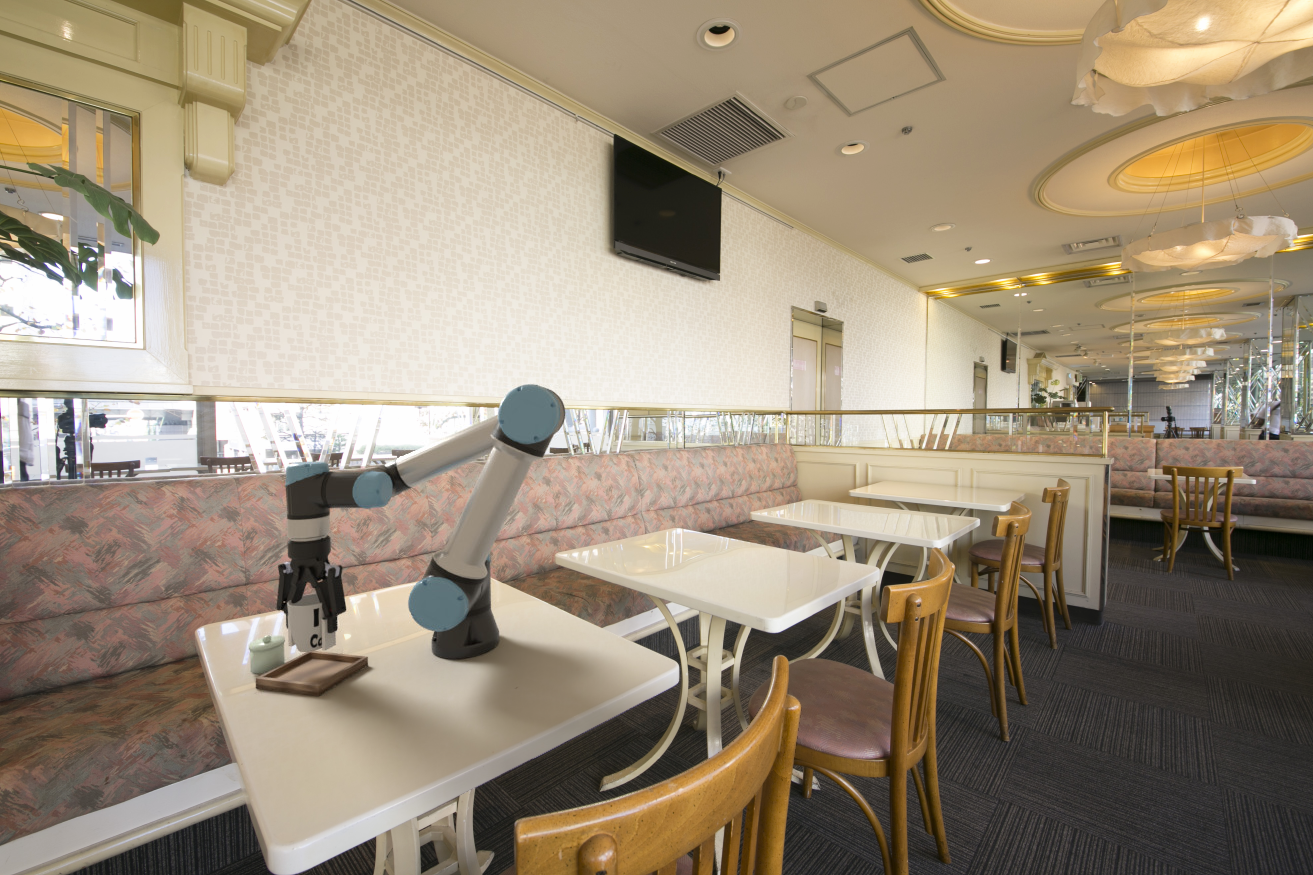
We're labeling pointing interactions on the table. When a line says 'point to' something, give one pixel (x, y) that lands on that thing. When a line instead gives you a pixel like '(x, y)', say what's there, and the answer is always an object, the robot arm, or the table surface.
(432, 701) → the table surface
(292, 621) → the cup
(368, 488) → the robot arm
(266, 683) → the tray
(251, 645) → the sugar pot
